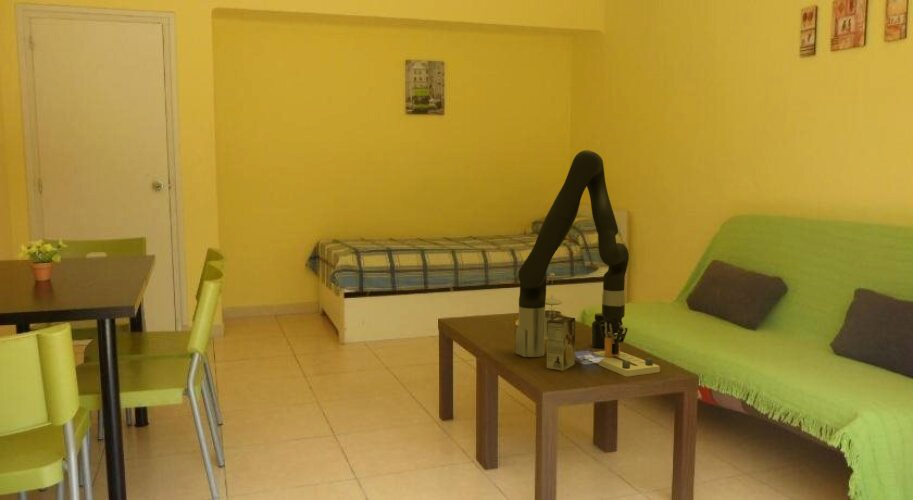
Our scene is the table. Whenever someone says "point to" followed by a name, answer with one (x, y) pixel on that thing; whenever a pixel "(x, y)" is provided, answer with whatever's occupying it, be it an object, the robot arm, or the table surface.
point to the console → (628, 364)
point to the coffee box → (560, 343)
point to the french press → (549, 313)
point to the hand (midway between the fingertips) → (612, 352)
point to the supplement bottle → (597, 332)
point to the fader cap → (610, 347)
